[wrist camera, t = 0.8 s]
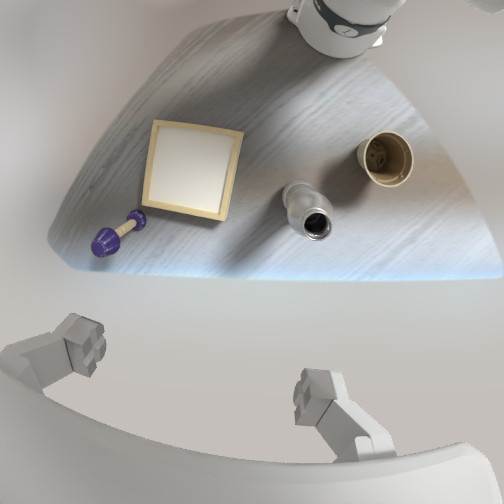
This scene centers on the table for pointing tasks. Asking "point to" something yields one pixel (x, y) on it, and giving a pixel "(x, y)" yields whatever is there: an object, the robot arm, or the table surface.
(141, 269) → the table surface
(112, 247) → the toy lamp
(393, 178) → the flower pot
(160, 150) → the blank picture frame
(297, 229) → the plastic bottle
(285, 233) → the table surface
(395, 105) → the table surface
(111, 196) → the table surface
